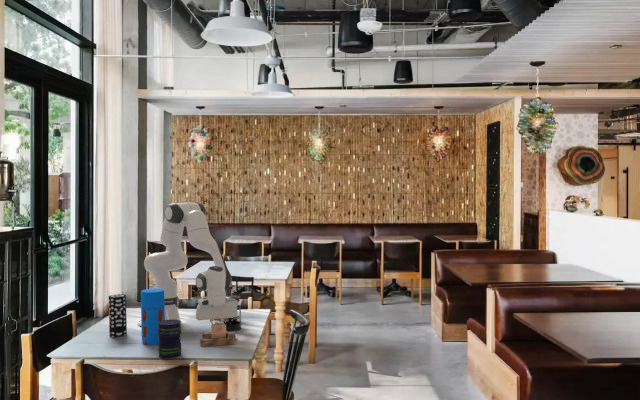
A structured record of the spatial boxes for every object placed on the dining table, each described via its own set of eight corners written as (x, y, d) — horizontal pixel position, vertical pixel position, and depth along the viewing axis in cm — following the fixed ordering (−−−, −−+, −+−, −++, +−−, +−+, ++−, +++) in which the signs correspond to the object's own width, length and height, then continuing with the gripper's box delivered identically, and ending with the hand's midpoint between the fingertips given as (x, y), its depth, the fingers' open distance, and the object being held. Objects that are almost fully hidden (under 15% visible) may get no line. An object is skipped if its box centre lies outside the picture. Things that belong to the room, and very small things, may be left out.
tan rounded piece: (227, 343, 282) (227, 326, 282) (212, 344, 280) (212, 327, 280) (223, 336, 295) (223, 320, 294) (209, 337, 293) (209, 321, 292)
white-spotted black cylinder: (130, 333, 302) (129, 294, 301) (119, 338, 294) (118, 297, 293) (116, 332, 304) (115, 293, 304) (105, 336, 296) (105, 296, 296)
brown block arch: (200, 346, 277) (200, 340, 277) (202, 338, 291) (202, 332, 291) (234, 344, 279) (234, 338, 279) (235, 337, 293) (235, 331, 293)
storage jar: (153, 356, 261) (153, 323, 261) (170, 351, 270) (169, 318, 269) (169, 360, 256) (169, 325, 256) (186, 354, 264) (185, 321, 264)
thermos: (152, 346, 278) (151, 293, 277) (137, 343, 284) (135, 291, 283) (169, 340, 287) (168, 289, 286) (154, 338, 293) (153, 287, 292)
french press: (238, 331, 303) (238, 287, 302) (220, 331, 304) (220, 287, 303) (243, 326, 315) (243, 283, 314) (226, 326, 316) (225, 283, 315)
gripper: (236, 297, 297) (236, 324, 298) (195, 300, 291) (195, 327, 291) (238, 299, 291) (239, 327, 292) (196, 302, 285) (197, 331, 285)
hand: (217, 327), depth 292 cm, fingers closed on tan rounded piece, 2 cm apart
